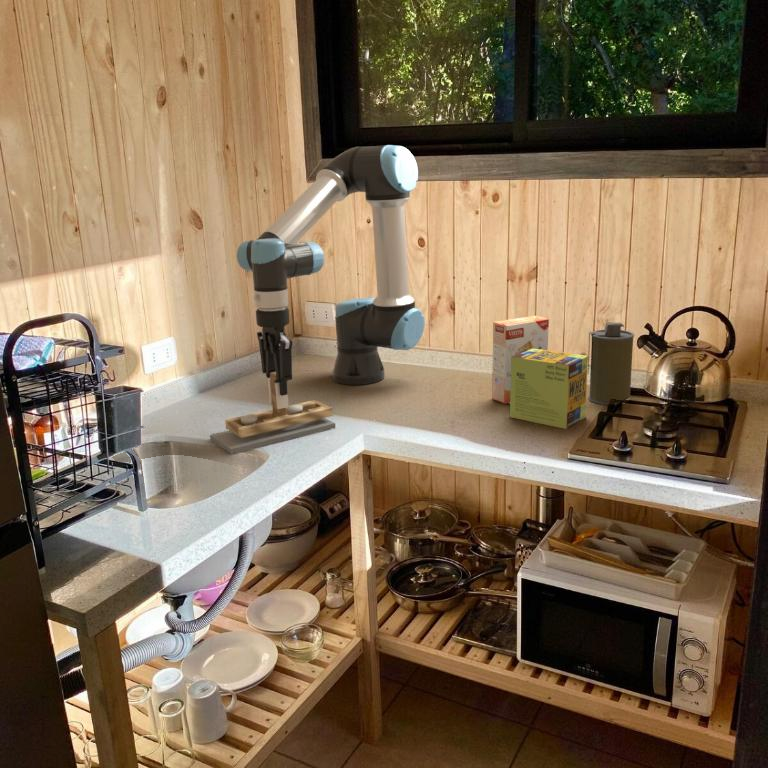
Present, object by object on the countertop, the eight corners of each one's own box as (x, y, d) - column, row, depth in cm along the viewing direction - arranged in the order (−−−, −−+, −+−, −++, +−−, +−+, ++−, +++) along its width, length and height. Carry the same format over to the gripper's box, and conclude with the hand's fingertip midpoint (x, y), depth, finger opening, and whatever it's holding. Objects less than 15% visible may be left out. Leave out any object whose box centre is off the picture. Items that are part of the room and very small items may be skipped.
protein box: (567, 429, 185) (569, 365, 181) (509, 417, 195) (509, 356, 190) (586, 417, 193) (589, 355, 189) (530, 406, 203) (531, 347, 198)
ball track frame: (314, 407, 200) (312, 361, 196) (332, 415, 193) (330, 367, 189) (225, 428, 187) (221, 378, 183) (241, 437, 180) (236, 386, 176)
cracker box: (505, 405, 204) (506, 325, 198) (491, 399, 209) (491, 321, 203) (547, 395, 211) (549, 317, 205) (533, 390, 216) (534, 314, 210)
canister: (627, 393, 210) (631, 319, 204) (633, 405, 200) (637, 327, 194) (584, 393, 212) (587, 319, 206) (589, 405, 202) (592, 328, 196)
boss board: (310, 415, 201) (309, 395, 200) (335, 427, 192) (334, 406, 190) (210, 439, 187) (208, 417, 185) (231, 454, 177) (229, 431, 176)
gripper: (241, 305, 186) (249, 401, 193) (273, 315, 174) (280, 417, 180) (270, 301, 190) (277, 395, 197) (303, 310, 178) (309, 410, 184)
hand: (279, 405), depth 189 cm, fingers closed on ball track frame, 3 cm apart
